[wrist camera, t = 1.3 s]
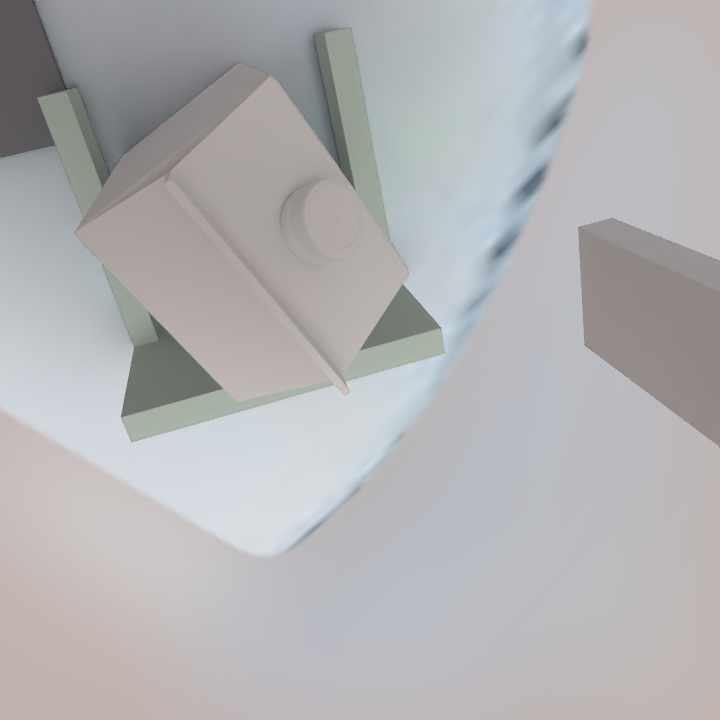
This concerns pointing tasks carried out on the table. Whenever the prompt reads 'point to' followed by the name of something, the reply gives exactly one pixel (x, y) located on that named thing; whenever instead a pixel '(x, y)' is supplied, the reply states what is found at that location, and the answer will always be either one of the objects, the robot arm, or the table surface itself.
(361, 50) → the table surface
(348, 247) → the milk carton
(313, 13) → the table surface
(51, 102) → the rack
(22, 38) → the mat
